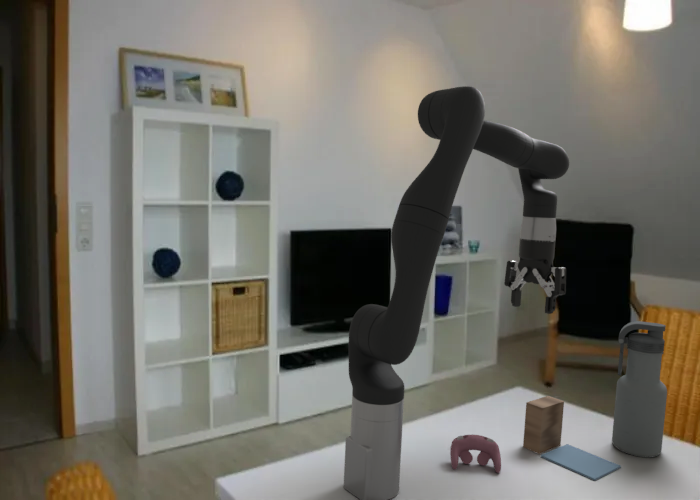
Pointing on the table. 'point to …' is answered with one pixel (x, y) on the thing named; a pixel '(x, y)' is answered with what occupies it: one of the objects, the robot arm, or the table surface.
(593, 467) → the rubber mat
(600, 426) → the table surface
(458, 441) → the video game controller
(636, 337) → the water bottle
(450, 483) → the table surface
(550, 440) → the wooden block
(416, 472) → the table surface
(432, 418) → the table surface
